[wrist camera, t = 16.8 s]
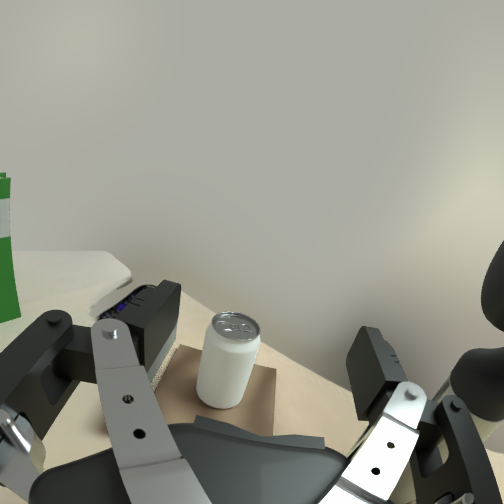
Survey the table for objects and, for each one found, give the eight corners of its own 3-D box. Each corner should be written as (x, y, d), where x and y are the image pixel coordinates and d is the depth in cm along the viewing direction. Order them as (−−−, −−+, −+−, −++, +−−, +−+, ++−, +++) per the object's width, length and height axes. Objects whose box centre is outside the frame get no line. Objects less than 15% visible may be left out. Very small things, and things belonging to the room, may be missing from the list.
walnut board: (274, 373, 43) (276, 369, 42) (269, 453, 28) (271, 449, 27) (179, 348, 43) (180, 344, 43) (142, 419, 28) (142, 415, 28)
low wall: (175, 339, 45) (178, 315, 43) (120, 438, 24) (115, 415, 23) (168, 337, 45) (171, 313, 43) (111, 434, 24) (105, 411, 23)
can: (194, 375, 37) (205, 307, 33) (237, 377, 39) (256, 311, 35) (197, 409, 31) (210, 340, 27) (246, 410, 33) (270, 344, 29)
